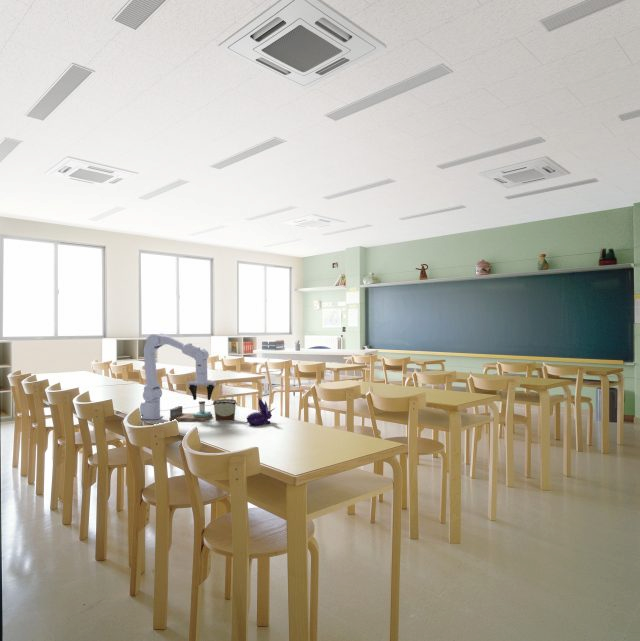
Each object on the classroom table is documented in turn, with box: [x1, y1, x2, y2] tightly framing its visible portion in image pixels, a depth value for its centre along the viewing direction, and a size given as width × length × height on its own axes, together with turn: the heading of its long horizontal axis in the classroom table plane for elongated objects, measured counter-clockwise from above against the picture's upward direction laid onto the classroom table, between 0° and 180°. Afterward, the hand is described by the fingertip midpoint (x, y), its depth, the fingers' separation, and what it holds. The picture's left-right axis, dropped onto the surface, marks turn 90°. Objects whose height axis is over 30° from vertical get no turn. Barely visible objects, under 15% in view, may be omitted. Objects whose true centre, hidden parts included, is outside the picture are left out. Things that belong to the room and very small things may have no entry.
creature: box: [244, 397, 276, 426], centre depth 236 cm, size 9×18×12 cm, turn 127°
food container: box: [212, 398, 238, 422], centre depth 247 cm, size 12×6×10 cm, turn 84°
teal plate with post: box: [193, 400, 212, 417], centre depth 249 cm, size 6×8×7 cm
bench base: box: [168, 405, 213, 423], centre depth 250 cm, size 18×12×6 cm, turn 81°
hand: (202, 399), depth 249 cm, fingers open, 7 cm apart
